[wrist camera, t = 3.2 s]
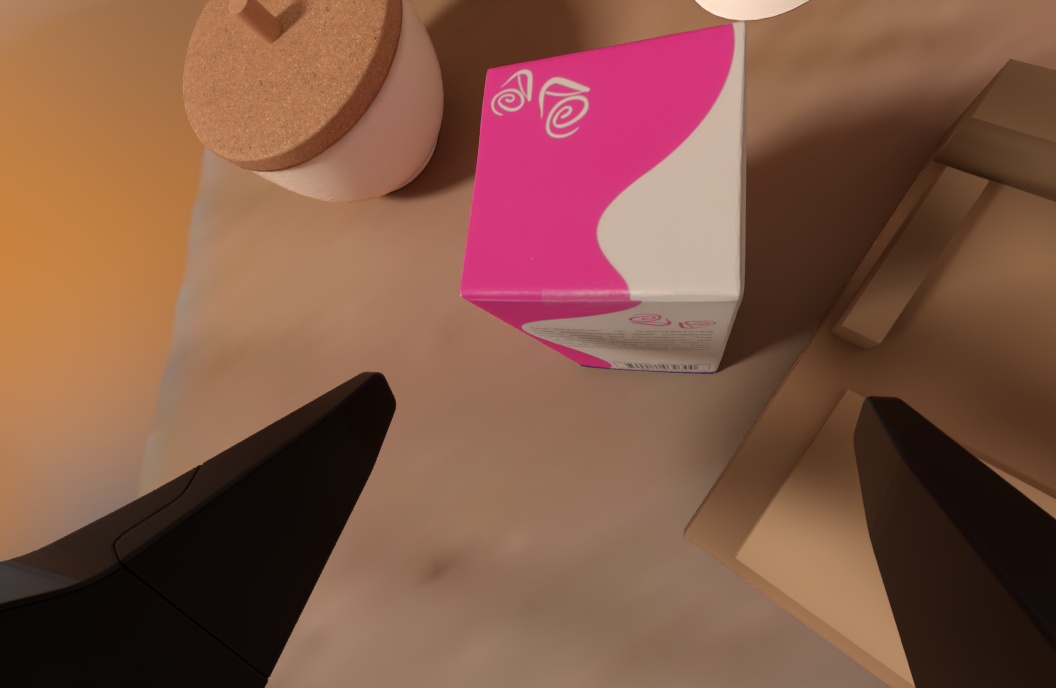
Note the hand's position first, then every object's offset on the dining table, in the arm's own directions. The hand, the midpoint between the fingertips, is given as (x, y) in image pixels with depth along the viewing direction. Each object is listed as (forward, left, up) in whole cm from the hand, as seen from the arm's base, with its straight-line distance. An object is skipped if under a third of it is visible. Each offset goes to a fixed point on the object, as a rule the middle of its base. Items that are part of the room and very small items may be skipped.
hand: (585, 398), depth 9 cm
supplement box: (+4, +2, -11) cm, 12 cm away
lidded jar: (+5, +19, -11) cm, 23 cm away
